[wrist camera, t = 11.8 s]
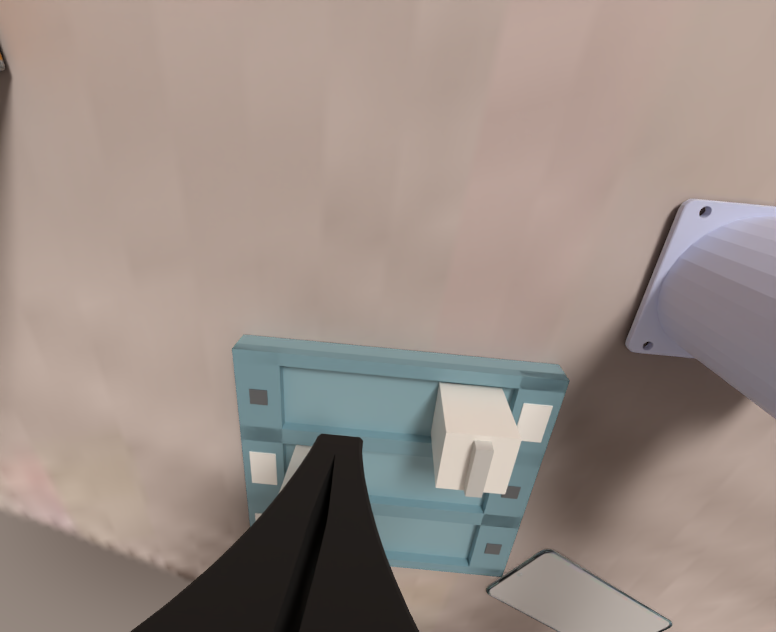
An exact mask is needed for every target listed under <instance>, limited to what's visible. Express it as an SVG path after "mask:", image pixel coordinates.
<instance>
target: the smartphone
mask: <svg viewBox="0 0 776 632" xmlns="http://www.w3.org/2000/svg"><path fill="white" fill-rule="evenodd" d="M487 593H488V594H489V595H490V596H492V597H494V598H496V599H498V600H500V601H501V602H503V603H505V604H507V605H509V606H511V607H513V608H515V609H517V610H518V611H520V612H522V613H524V614H526V615H528V616H530V617H532V618H533V619H535V620H537V621H539V622H541V623H543V624H545V625H547V626H548V627H550V628H552V629H554V630H556V631H558V632H662V631H664V630H666V629H668V628H670V627H671V626H672V622H671V621H670V620H668V619H667V618H665V617H663V616H662V615H660V614H658V613H657V612H655V611H653V610H652V609H650V608H649V607H647V606H645V605H644V604H642V603H640V602H639V601H637V600H635V599H634V598H632V597H630V596H629V595H627V594H625V593H624V592H622V591H620V590H619V589H617V588H615V587H614V586H612V585H610V584H609V583H607V582H605V581H604V580H602V579H600V578H599V577H597V576H595V575H594V574H592V573H590V572H589V571H588V570H586V569H584V568H582V567H581V566H579V565H578V564H576V563H574V562H572V561H571V560H569V559H567V558H566V557H564V556H563V555H560V554H559V553H557V552H555V551H554V550H551V549H545V550H542V551H540V552H539V553H537V554H536V555H534V556H533V557H531V558H530V559H528V560H527V561H525V562H524V563H522V564H521V565H519V566H518V567H516V568H515V569H513V570H512V571H510V572H509V573H507V574H506V575H504V576H503V577H501V578H500V579H498V580H497V581H495V582H494V583H492V584H491V585H489V586H488V587H487Z"/></svg>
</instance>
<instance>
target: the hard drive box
mask: <svg viewBox="0 0 776 632" xmlns="http://www.w3.org/2000/svg"><path fill="white" fill-rule="evenodd" d="M4 69H5V64H4V62H3V59H2V56H1V53H0V71H3V70H4Z"/></svg>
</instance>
